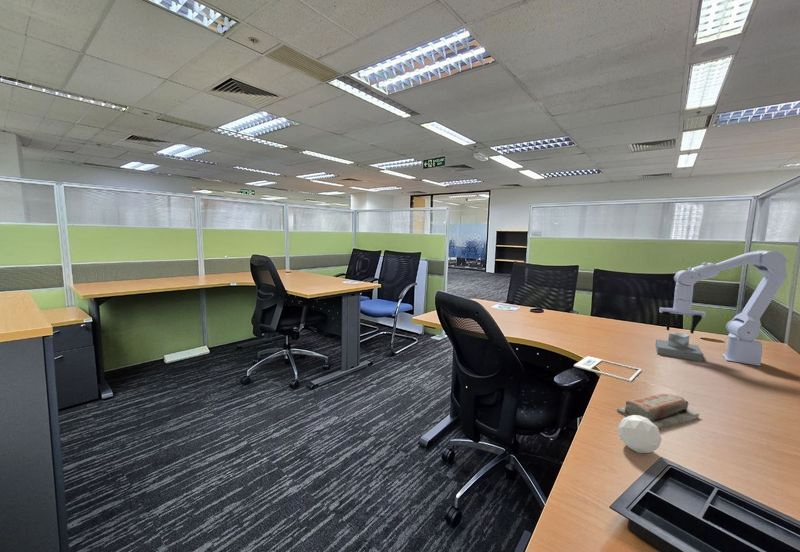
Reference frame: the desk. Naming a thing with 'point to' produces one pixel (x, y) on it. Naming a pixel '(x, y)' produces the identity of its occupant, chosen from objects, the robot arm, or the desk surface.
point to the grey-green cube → (678, 340)
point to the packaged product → (660, 409)
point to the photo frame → (592, 362)
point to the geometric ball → (639, 434)
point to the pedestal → (679, 351)
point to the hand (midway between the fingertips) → (679, 331)
